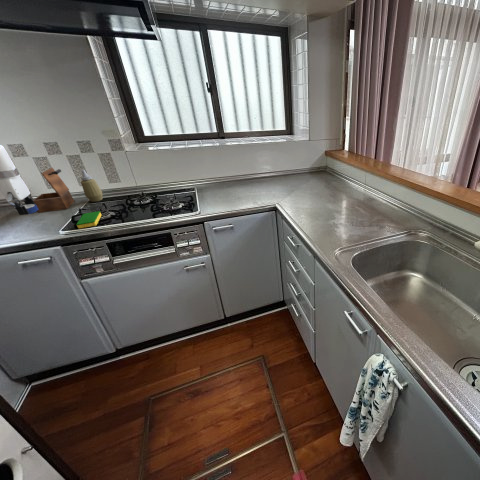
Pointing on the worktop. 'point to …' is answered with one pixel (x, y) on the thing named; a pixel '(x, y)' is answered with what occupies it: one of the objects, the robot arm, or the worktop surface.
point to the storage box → (53, 201)
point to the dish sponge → (89, 219)
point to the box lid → (55, 181)
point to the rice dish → (31, 208)
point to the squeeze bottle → (91, 188)
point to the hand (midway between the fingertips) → (28, 211)
